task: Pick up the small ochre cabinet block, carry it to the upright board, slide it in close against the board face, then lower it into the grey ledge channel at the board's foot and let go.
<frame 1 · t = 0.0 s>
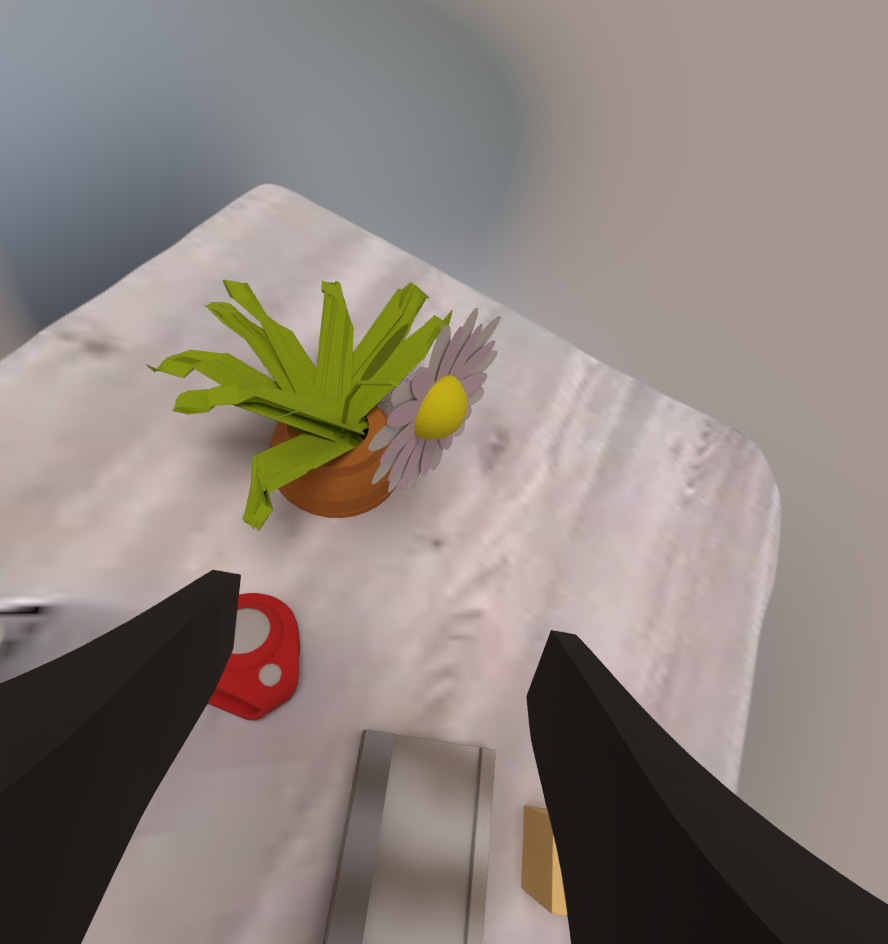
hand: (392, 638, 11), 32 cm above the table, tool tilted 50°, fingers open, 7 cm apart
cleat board: (406, 882, 35), on the table
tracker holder: (227, 651, 40), on the table
cabinet block: (554, 849, 37), on the table
decorative plant: (336, 444, 50), on the table
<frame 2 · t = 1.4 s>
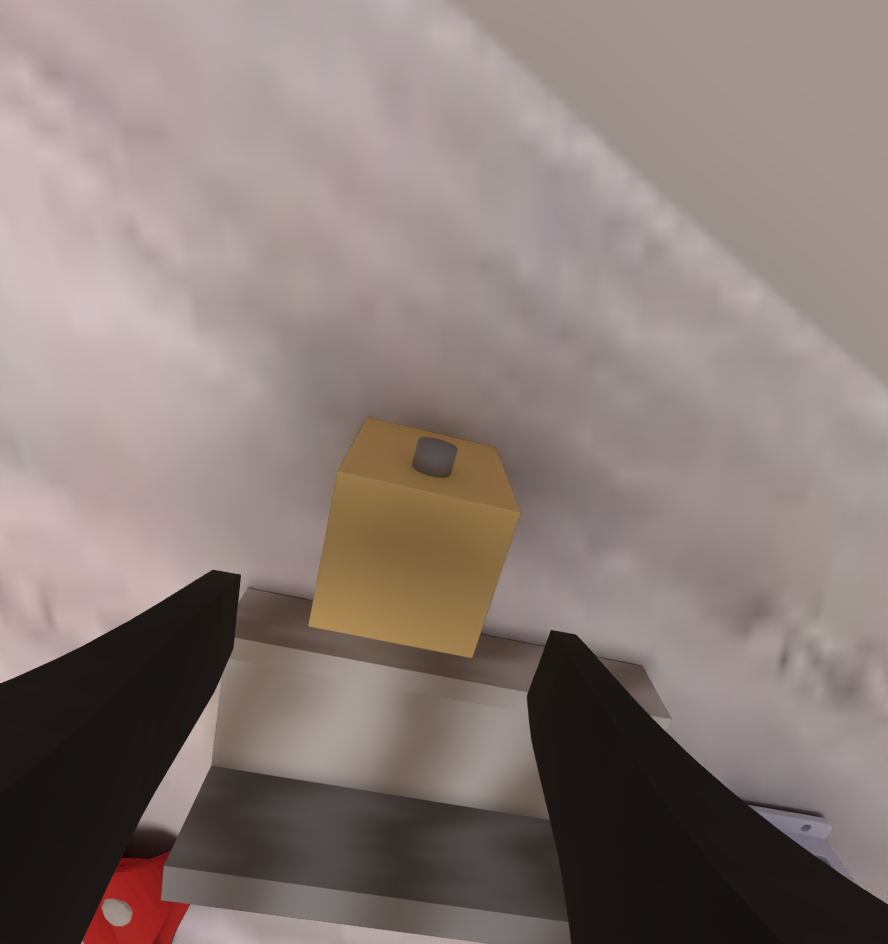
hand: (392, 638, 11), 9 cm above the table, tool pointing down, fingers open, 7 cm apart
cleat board: (427, 713, 23), on the table
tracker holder: (123, 886, 28), on the table
cabinet block: (417, 491, 19), on the table
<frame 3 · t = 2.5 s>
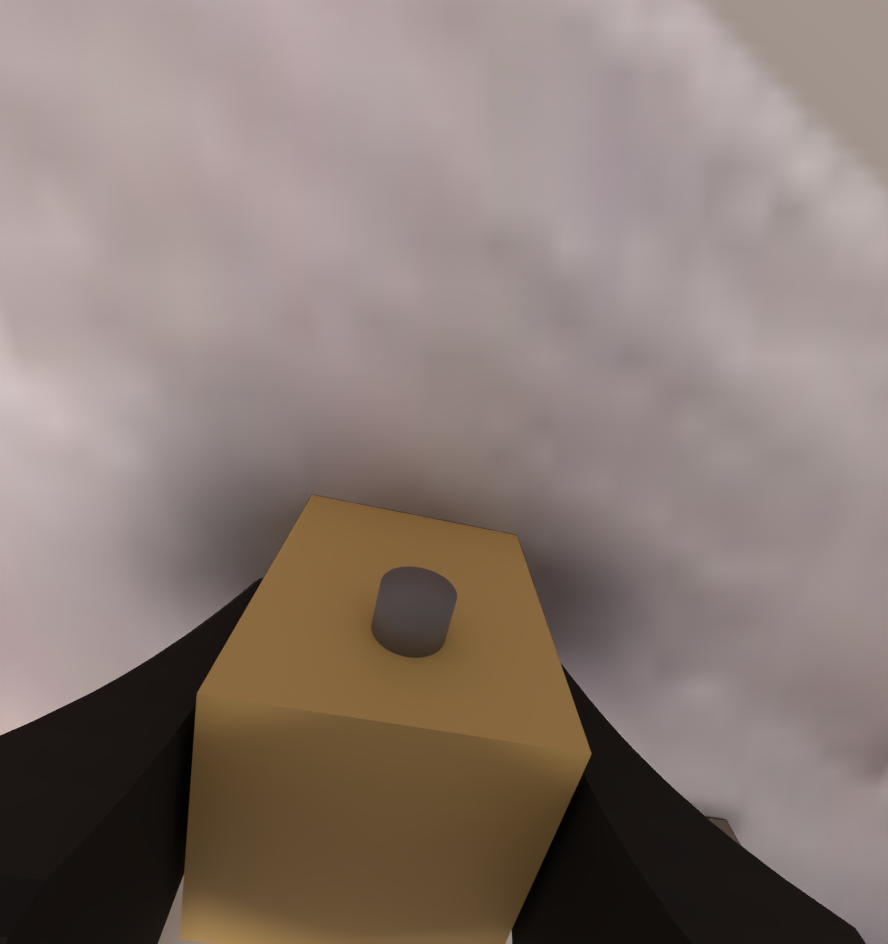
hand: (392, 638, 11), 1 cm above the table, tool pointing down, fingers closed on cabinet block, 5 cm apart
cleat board: (421, 884, 17), on the table
cabinet block: (396, 601, 13), on the table, touching gripper
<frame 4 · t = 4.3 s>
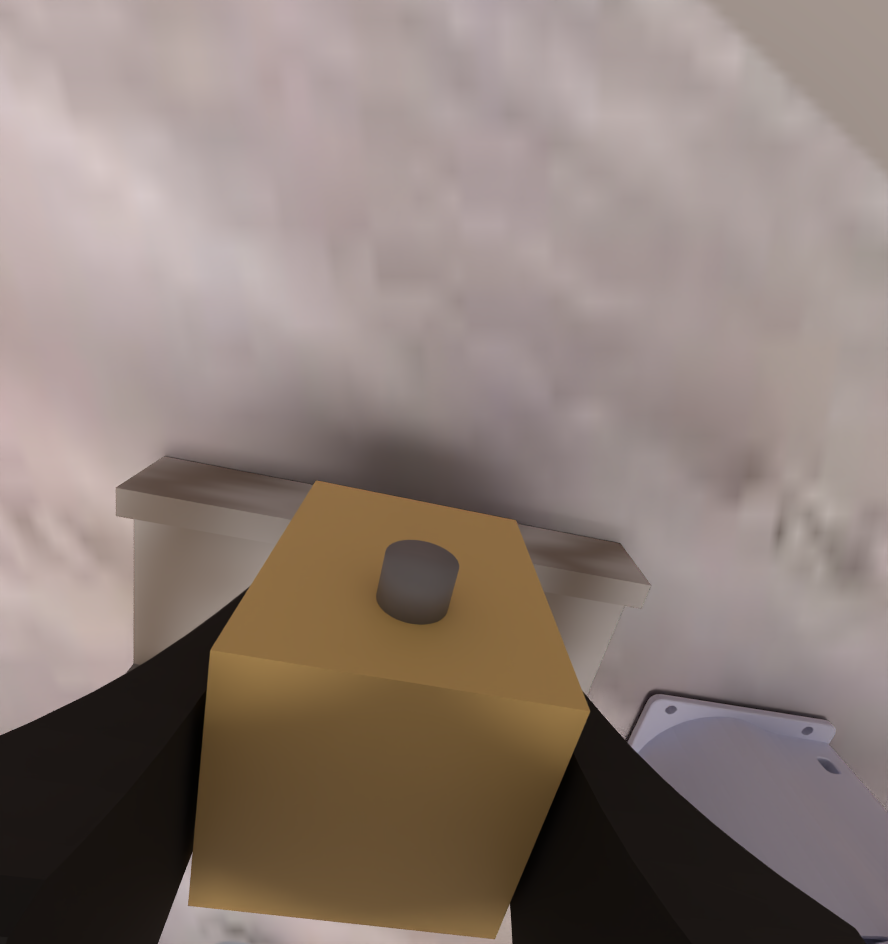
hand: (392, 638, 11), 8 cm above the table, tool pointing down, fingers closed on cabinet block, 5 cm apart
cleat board: (381, 607, 21), on the table
cabinet block: (398, 586, 13), point 6 cm above the table, touching gripper
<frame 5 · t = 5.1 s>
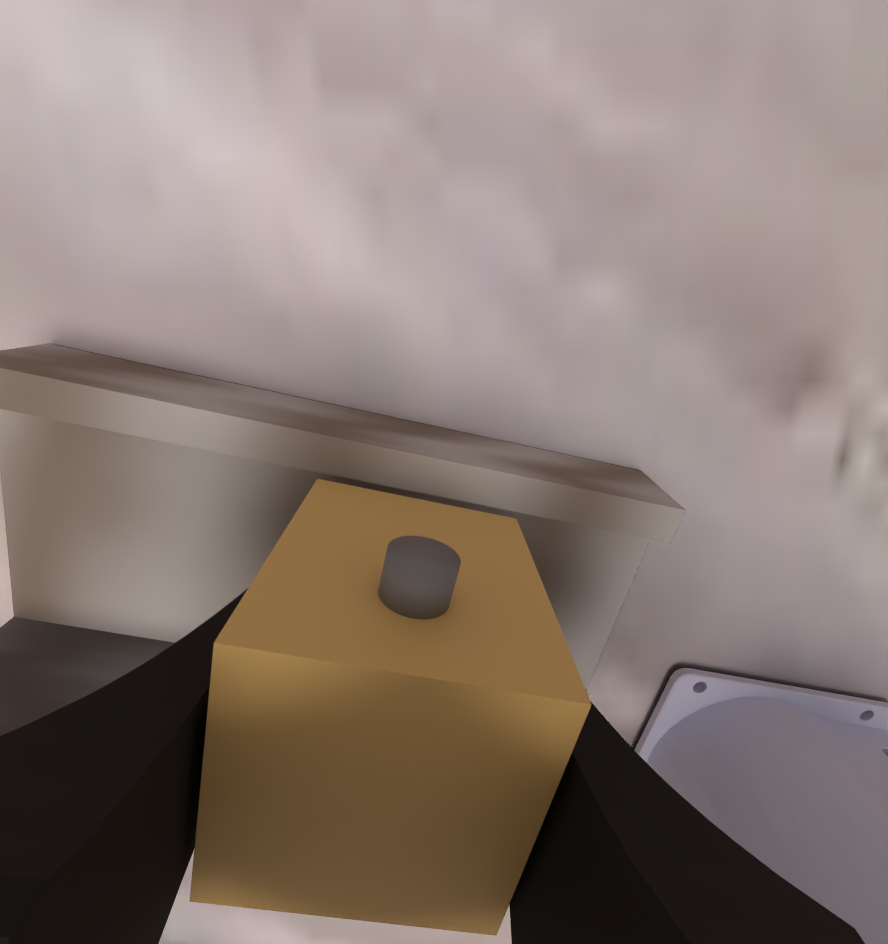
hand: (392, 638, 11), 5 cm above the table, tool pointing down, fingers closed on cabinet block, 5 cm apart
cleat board: (338, 552, 16), on the table
cabinet block: (399, 585, 13), point 4 cm above the table, touching gripper
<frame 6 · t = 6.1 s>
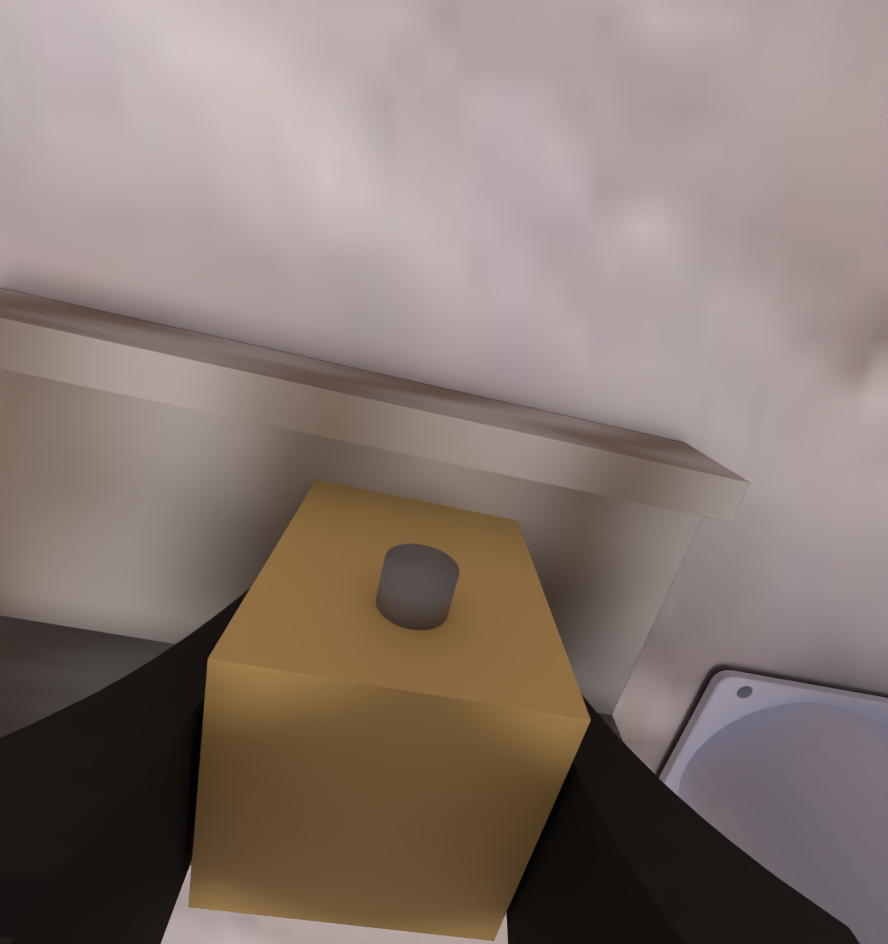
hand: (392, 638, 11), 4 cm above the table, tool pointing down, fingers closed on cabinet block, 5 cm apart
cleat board: (336, 537, 14), on the table
cabinet block: (398, 586, 13), point 2 cm above the table, touching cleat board, gripper
when the fingers open (4 cm above the table, at t = 6.3 s): cabinet block stays where it is, resting on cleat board.
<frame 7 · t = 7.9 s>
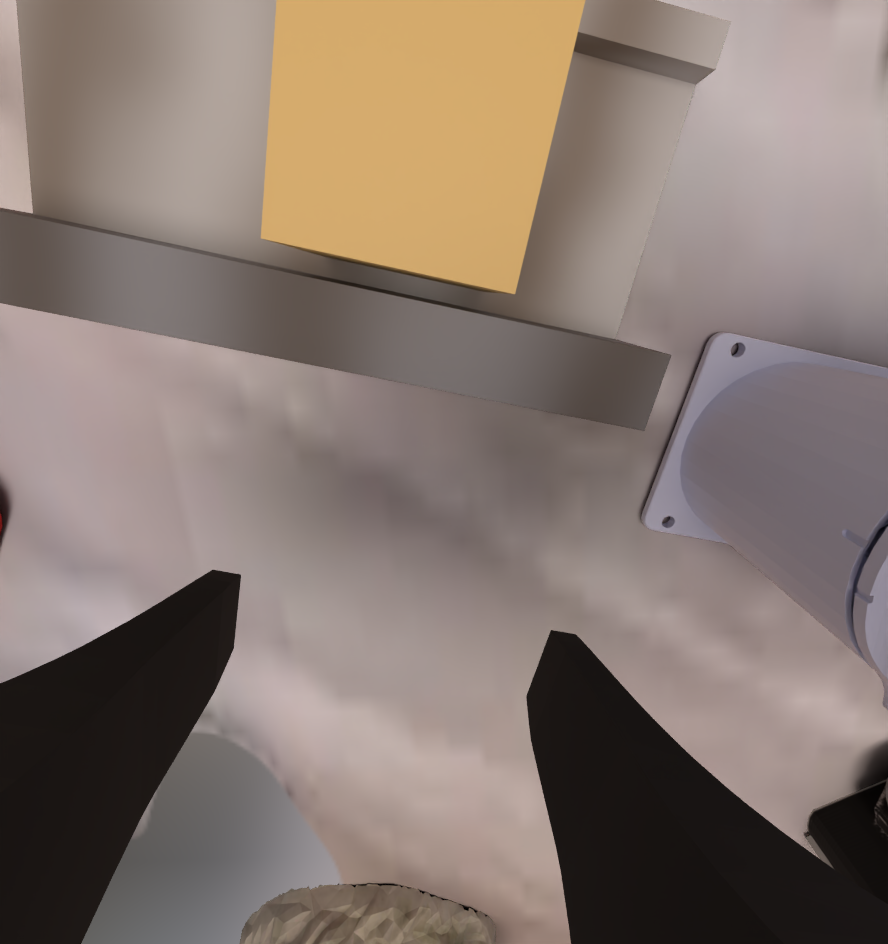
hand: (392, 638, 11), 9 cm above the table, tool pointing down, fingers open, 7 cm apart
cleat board: (362, 184, 16), on the table
cabinet block: (421, 184, 14), point 2 cm above the table, touching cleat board
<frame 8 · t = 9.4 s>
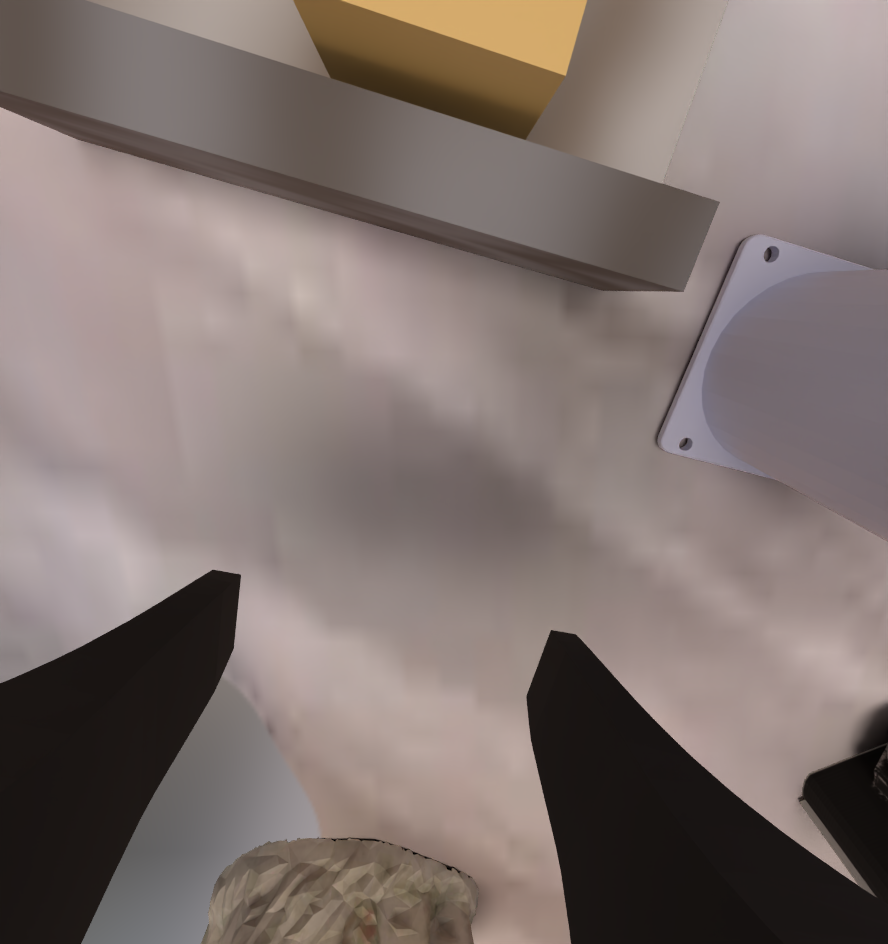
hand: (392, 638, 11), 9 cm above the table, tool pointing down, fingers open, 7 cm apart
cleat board: (386, 41, 15), on the table
cabinet block: (452, 27, 13), point 2 cm above the table, touching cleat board
rough stone chunk: (336, 917, 31), on the table
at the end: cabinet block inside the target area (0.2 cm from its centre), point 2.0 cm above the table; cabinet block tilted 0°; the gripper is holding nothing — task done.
